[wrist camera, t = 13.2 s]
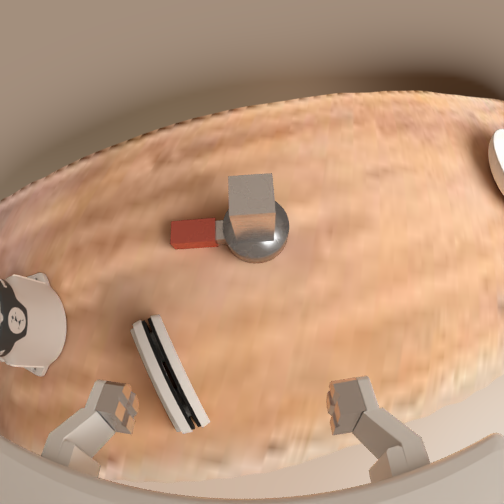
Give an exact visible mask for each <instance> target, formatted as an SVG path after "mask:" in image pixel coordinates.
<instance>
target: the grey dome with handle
mask: <svg viewBox="0 0 504 504" xmlns="http://www.w3.org/2000/svg"><path fill="white" fill-rule="evenodd" d="M275 211H276V215H275V233H274V241H265V242H249V243H237V240H236V236H235V233H234V230H233V227H232V224H231V221H230V217H229V209H228V211H227V212H226V214H225V217H224V220H220V221H216V219H215V218H206V219H193V220H181V221H171V240H170V244H171V245H172V246H173V247H174V248H175V249H188V248H204V247H218V245H220V244H227V245H228V247H229V249H230V250H231V252H232V253H233V254H234V255H235V256H236V257H238V258H239V259H241V260H243V261H245V262H249V263H263V262H267V261H270V260H272V259H273V258H275V257H276V256H278V255H279V254H280V253H281V251H282V250H283V248H284V247H285V244H286V242H287V237H288V232H289V221H288V217H287V214H286V212H285V211H284V209H283V208H282V207H281V206H280V205H279V204H278V203H277V202H275Z"/></svg>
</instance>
